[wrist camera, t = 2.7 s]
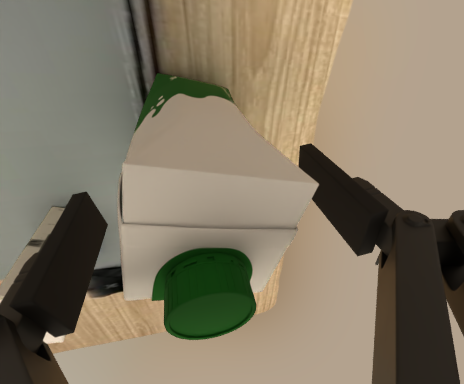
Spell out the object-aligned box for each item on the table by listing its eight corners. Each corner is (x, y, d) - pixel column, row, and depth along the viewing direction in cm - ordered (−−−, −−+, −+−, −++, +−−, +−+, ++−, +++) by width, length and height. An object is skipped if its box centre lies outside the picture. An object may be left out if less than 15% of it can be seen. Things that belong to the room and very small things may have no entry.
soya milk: (143, 149, 25) (100, 356, 10) (147, 57, 21) (72, 179, 5) (220, 158, 28) (282, 333, 13) (239, 79, 23) (379, 203, 8)
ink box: (94, 255, 33) (65, 345, 24) (53, 253, 31) (4, 350, 22) (97, 210, 29) (62, 299, 20) (49, 204, 27) (-14, 300, 18)
